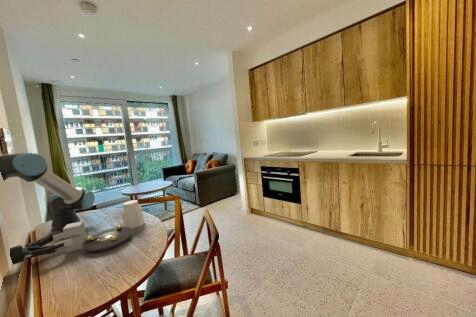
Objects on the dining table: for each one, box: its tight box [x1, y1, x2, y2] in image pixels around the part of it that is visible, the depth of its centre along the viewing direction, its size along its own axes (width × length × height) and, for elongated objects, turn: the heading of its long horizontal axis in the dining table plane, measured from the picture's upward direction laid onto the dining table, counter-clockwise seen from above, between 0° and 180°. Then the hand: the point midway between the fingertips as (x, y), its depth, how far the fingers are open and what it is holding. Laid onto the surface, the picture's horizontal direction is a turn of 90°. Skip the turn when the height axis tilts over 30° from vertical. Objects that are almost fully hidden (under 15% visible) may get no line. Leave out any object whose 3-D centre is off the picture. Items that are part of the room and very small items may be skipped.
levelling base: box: [82, 223, 133, 253], centre depth 111 cm, size 22×22×6 cm
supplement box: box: [63, 220, 87, 254], centre depth 109 cm, size 7×7×13 cm
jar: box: [121, 199, 145, 230], centre depth 131 cm, size 12×10×15 cm
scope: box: [59, 214, 78, 233], centre depth 123 cm, size 8×14×10 cm
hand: (70, 236), depth 107 cm, fingers open, 13 cm apart
